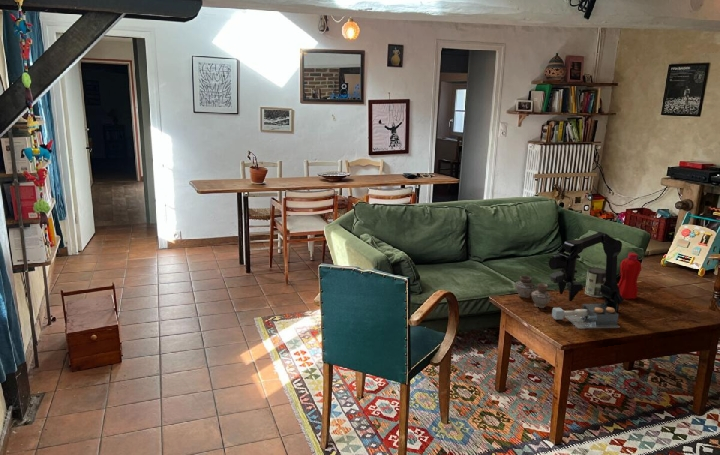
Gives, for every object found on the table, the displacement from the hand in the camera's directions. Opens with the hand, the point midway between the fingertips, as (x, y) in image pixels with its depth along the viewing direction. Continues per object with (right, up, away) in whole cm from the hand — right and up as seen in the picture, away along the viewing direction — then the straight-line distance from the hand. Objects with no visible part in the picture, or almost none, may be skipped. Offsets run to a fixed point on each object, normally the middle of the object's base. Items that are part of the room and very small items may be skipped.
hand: (565, 297), depth 260 cm
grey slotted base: (+13, -12, +1) cm, 17 cm away
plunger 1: (+14, -8, -4) cm, 17 cm away
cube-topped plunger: (+4, -10, +2) cm, 11 cm away
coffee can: (+30, -3, +37) cm, 48 cm away
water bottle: (+46, -4, +34) cm, 57 cm away
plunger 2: (+20, -8, -3) cm, 22 cm away
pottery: (-8, -5, +26) cm, 28 cm away
